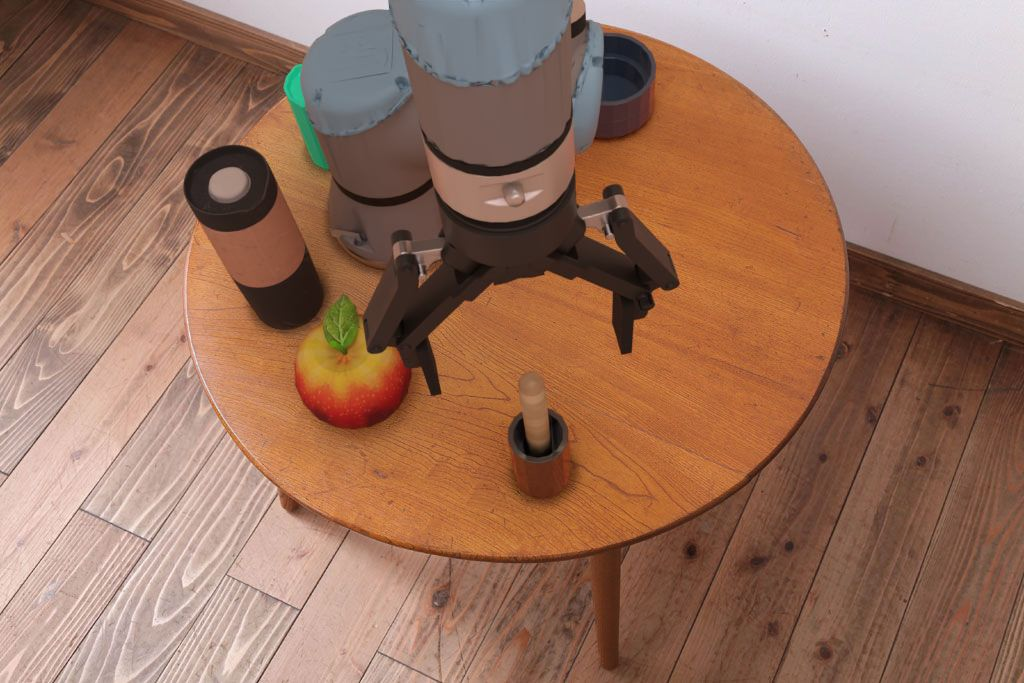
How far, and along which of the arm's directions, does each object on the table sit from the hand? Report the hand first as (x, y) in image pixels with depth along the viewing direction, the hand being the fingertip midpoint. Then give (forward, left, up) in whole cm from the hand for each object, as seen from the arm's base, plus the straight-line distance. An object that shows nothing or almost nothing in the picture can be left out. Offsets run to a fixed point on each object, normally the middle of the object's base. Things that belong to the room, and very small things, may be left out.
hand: (527, 358), depth 72 cm
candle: (-42, -14, -23) cm, 50 cm away
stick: (0, 0, -23) cm, 23 cm away
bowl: (-40, +16, -23) cm, 49 cm away
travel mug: (-24, -21, -23) cm, 40 cm away
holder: (0, 0, -23) cm, 23 cm away
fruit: (-12, -15, -23) cm, 30 cm away
